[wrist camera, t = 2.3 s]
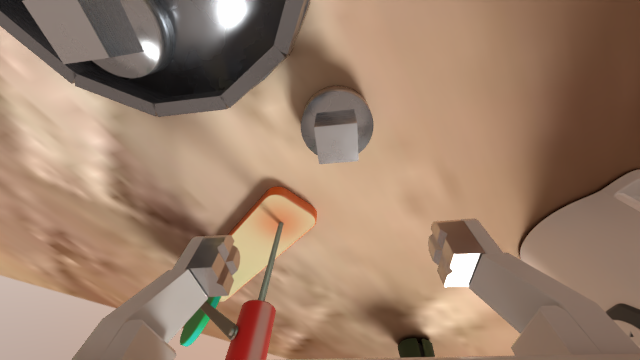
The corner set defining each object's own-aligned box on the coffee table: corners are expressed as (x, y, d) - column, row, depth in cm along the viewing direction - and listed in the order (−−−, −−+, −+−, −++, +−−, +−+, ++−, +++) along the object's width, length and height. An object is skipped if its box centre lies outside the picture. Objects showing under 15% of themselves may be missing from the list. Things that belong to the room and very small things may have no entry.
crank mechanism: (275, 181, 25) (177, 451, 10) (322, 212, 28) (306, 474, 12) (187, 279, 37) (77, 475, 21) (225, 295, 39) (151, 484, 23)
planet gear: (370, 81, 19) (379, 98, 15) (370, 147, 23) (378, 175, 18) (298, 89, 20) (288, 108, 16) (308, 152, 23) (303, 181, 19)
